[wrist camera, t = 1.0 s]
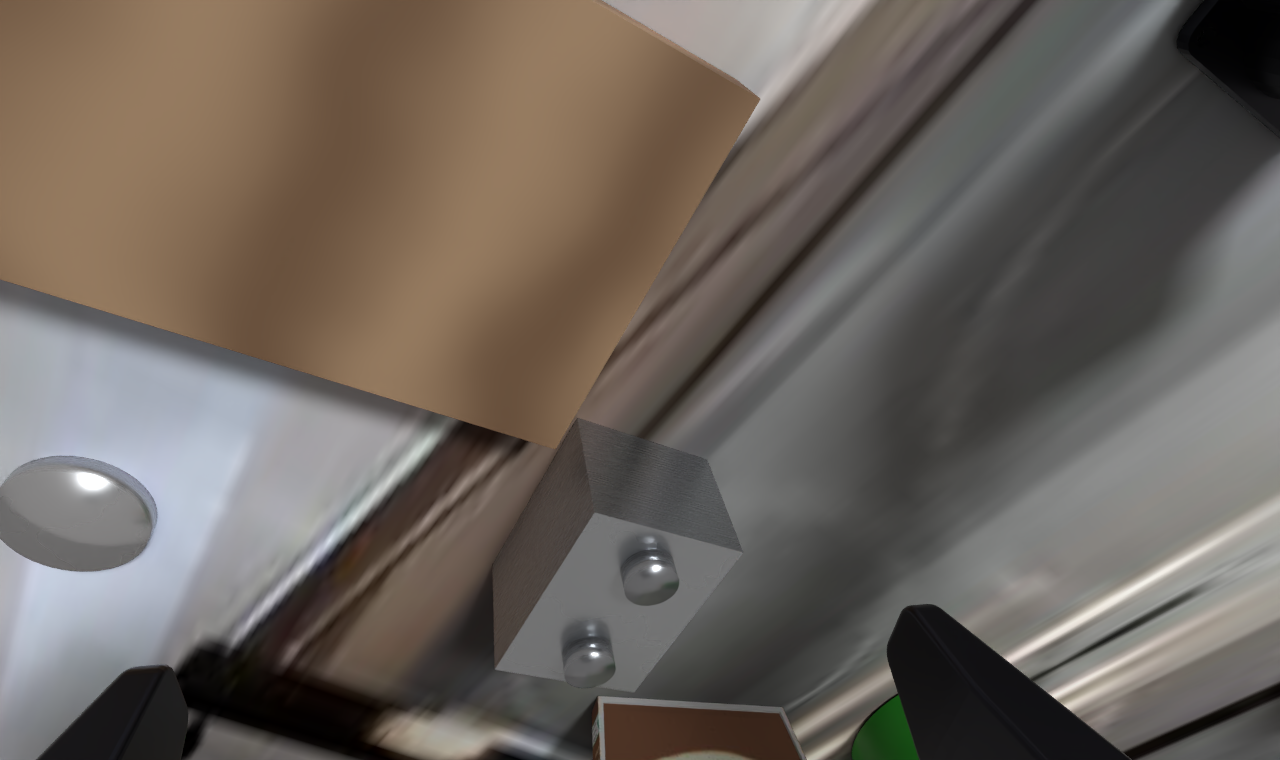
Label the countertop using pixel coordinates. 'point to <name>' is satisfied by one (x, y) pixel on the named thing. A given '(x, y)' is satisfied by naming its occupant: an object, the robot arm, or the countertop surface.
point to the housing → (609, 560)
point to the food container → (690, 731)
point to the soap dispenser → (885, 736)
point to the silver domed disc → (75, 513)
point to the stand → (362, 183)
